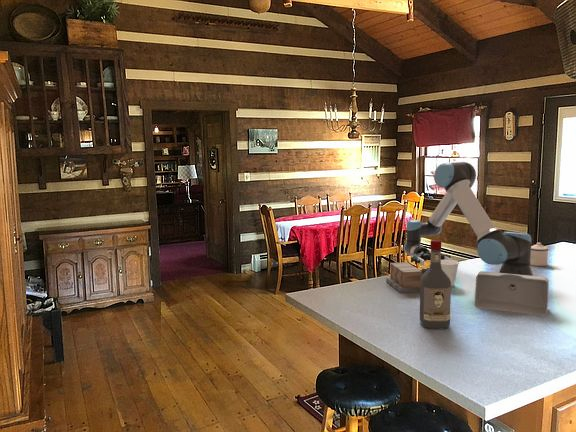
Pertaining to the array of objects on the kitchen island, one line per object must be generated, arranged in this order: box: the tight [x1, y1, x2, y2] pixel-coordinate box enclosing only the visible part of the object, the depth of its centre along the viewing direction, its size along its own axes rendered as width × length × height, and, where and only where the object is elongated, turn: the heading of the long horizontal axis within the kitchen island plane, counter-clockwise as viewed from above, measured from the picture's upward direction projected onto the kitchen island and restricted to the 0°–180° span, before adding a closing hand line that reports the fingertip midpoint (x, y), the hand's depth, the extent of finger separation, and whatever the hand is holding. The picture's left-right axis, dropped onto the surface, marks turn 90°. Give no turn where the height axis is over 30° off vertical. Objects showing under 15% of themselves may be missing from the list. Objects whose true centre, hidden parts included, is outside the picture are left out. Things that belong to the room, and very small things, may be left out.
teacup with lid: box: [530, 242, 549, 267], centre depth 249 cm, size 12×9×12 cm
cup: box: [441, 259, 460, 288], centre depth 212 cm, size 10×10×11 cm
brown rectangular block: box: [385, 261, 423, 293], centre depth 213 cm, size 18×12×9 cm, turn 6°
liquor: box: [419, 239, 452, 330], centre depth 163 cm, size 9×9×30 cm
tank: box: [473, 270, 550, 317], centre depth 183 cm, size 25×16×12 cm, turn 61°
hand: (437, 262), depth 222 cm, fingers open, 13 cm apart
